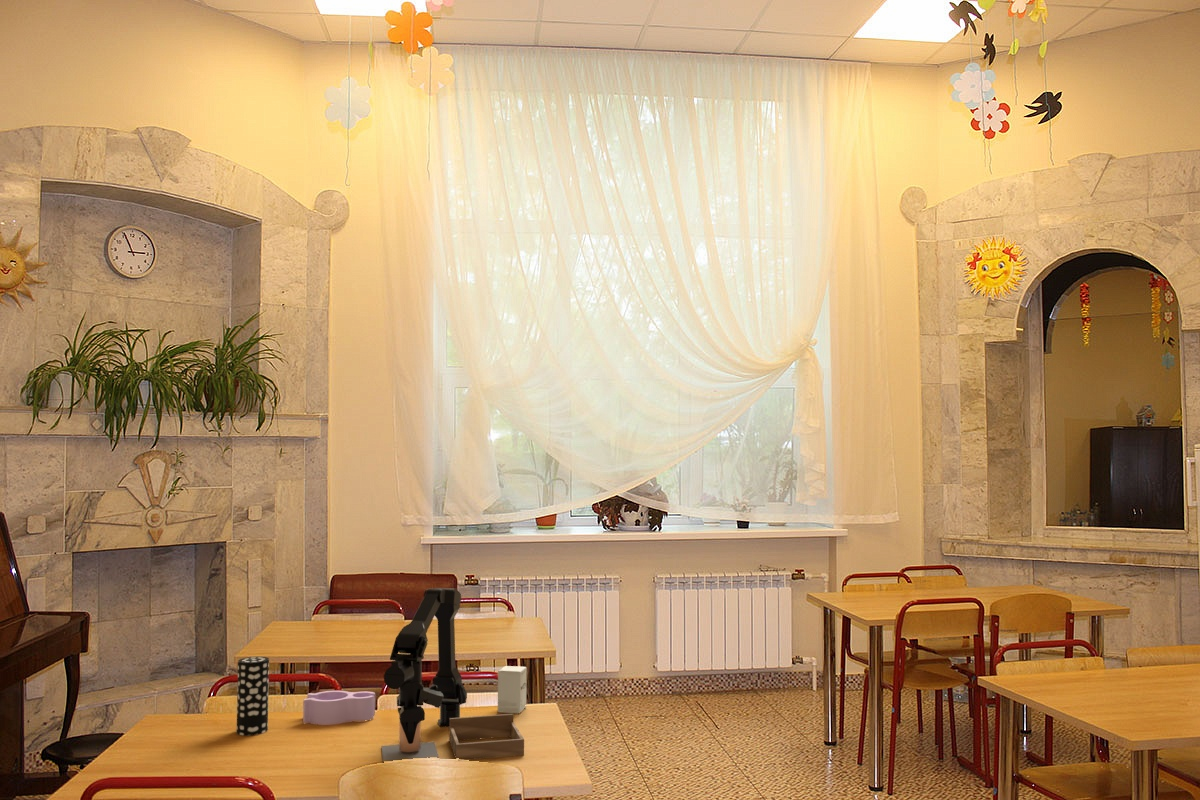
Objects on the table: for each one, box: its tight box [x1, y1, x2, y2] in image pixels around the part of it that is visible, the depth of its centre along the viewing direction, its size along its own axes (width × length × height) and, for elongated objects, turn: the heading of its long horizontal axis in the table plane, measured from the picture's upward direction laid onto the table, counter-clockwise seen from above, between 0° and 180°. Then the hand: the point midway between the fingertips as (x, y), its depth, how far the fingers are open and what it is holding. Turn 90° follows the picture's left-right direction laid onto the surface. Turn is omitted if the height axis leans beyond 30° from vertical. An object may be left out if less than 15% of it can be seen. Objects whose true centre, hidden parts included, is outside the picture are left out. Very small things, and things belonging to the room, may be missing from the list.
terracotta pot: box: [398, 721, 422, 752], centre depth 247 cm, size 6×6×9 cm
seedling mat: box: [381, 741, 440, 763], centre depth 247 cm, size 14×14×1 cm
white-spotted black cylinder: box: [235, 656, 270, 737], centre depth 267 cm, size 8×8×20 cm
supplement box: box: [497, 665, 528, 714], centre depth 289 cm, size 7×7×13 cm
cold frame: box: [448, 713, 525, 760], centre depth 252 cm, size 18×18×6 cm
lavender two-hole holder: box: [302, 690, 376, 726], centre depth 280 cm, size 20×12×7 cm, turn 97°
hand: (410, 740), depth 247 cm, fingers open, 6 cm apart
